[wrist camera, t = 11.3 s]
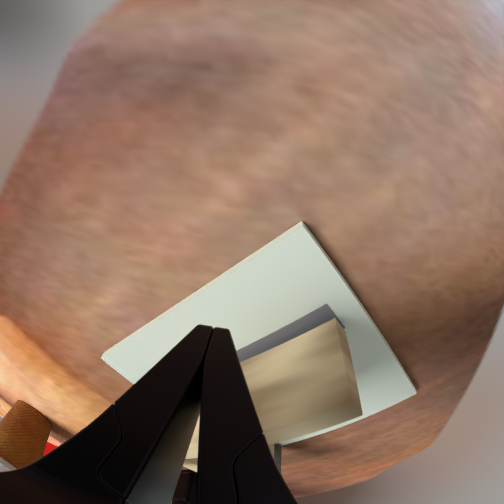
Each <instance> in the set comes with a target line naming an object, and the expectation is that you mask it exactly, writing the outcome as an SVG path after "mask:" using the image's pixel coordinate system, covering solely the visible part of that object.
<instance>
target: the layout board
mask: <svg viewBox="0 0 504 504" xmlns="http://www.w3.org/2000/svg"><path fill="white" fill-rule="evenodd" d="M334 318H336V320H337V321H338V322H339V324H340V325H341V327H342V328H343V329H344V331H345V332H346V336H347V340H348V345H349V349H350V353H351V358H352V363H353V367H354V372H355V377H356V382H357V387H358V392H359V397H360V402H361V407H362V413H363V415H362V416H359V417H357V418H354V419H352V420H349V421H346V422H343V423H341V424H338V425H335V426H332V427H329V428H326V429H323V430H320V431H317V432H314V433H311V434H307V435H304V436H300V437H297V438H293V439H290V440H286V441H282V442H278V443H274V444H277V445H281V446H282V445H286V444H289V443H293V442H297V441H300V440H303V439H307V438H310V437H313V436H316V435H319V434H322V433H325V432H328V431H331V430H334V429H337V428H339V427H342V426H345V425H348V424H350V423H353V422H355V421H358V420H360V419H363V418H365V417H368V416H370V415H372V414H375V413H377V412H379V411H382V410H384V409H386V408H388V407H390V406H393V405H395V404H397V403H399V402H401V401H403V400H405V399H407V398H409V397H411V396H413V395H415V394H417V392H416V389H415V386H414V385H413V383H412V382H411V380H410V378H409V377H408V375H407V373H406V372H405V370H404V368H403V367H402V365H401V364H400V362H399V360H398V359H397V357H396V356H395V354H394V352H393V351H392V349H391V348H390V346H389V345H388V343H387V341H386V340H385V338H384V337H383V335H382V334H381V332H380V331H379V329H378V328H377V326H376V325H375V323H374V322H373V320H372V319H371V317H370V316H369V314H368V313H367V311H366V310H365V308H364V307H363V305H362V304H361V302H360V301H359V299H358V298H357V296H356V295H355V293H354V292H353V291H352V289H351V288H350V286H349V285H348V283H347V282H346V280H345V279H344V278H343V276H342V275H341V273H340V272H339V271H338V269H337V268H336V266H335V265H334V263H333V262H332V261H331V259H330V258H329V257H328V255H327V254H326V252H325V251H324V250H323V248H322V247H321V246H320V244H319V243H318V241H317V240H316V239H315V237H314V236H313V235H312V233H311V232H310V231H309V229H308V228H307V227H306V225H305V224H304V223H303V221H301V222H299V223H298V224H296V225H295V226H293V227H292V228H290V229H289V230H287V231H286V232H284V233H283V234H281V235H280V236H278V237H277V238H275V239H274V240H272V241H271V242H269V243H268V244H266V245H265V246H263V247H262V248H260V249H259V250H257V251H256V252H254V253H253V254H251V255H250V256H248V257H247V258H245V259H244V260H242V261H241V262H239V263H238V264H236V265H235V266H233V267H232V268H230V269H229V270H227V271H226V272H224V273H223V274H221V275H220V276H218V277H217V278H215V279H214V280H212V281H211V282H209V283H208V284H206V285H205V286H203V287H202V288H200V289H199V290H197V291H196V292H194V293H193V294H191V295H190V296H188V297H187V298H185V299H184V300H182V301H181V302H179V303H178V304H176V305H174V306H173V307H171V308H170V309H168V310H167V311H165V312H164V313H162V314H161V315H159V316H158V317H156V318H155V319H153V320H152V321H150V322H149V323H147V324H146V325H144V326H143V327H141V328H140V329H138V330H137V331H135V332H134V333H132V334H131V335H129V336H128V337H126V338H125V339H123V340H122V341H120V342H119V343H117V344H116V345H114V346H113V347H111V348H110V349H108V350H107V351H105V352H104V353H103V355H102V357H101V359H102V360H104V361H105V362H106V363H107V364H109V365H110V366H111V367H112V368H113V369H115V370H116V371H117V372H118V373H120V374H121V375H122V376H124V377H125V378H126V379H127V380H129V381H130V382H131V383H133V384H135V383H136V382H137V381H138V380H139V379H140V378H141V377H142V376H144V375H145V374H146V373H147V372H148V371H149V370H150V369H151V368H152V367H153V366H154V365H155V364H156V363H157V362H159V361H160V360H161V359H162V358H163V357H164V356H165V355H166V354H167V353H168V352H169V351H170V350H171V349H172V348H173V347H174V346H176V345H177V344H178V343H179V342H180V341H181V340H182V339H183V338H184V337H185V336H186V335H187V334H188V333H189V332H190V331H191V330H192V329H194V328H195V327H196V326H197V325H199V324H202V325H208V326H212V327H213V329H214V328H215V327H221V328H227V329H229V330H230V332H231V335H232V339H233V342H234V345H235V348H236V351H237V355H238V358H239V361H240V362H242V361H245V360H247V359H249V358H252V357H254V356H256V355H258V354H261V353H263V352H265V351H267V350H270V349H272V348H274V347H276V346H279V345H281V344H283V343H285V342H287V341H289V340H291V339H293V338H296V337H298V336H300V335H302V334H304V333H306V332H308V331H310V330H312V329H314V328H316V327H318V326H320V325H322V324H324V323H326V322H328V321H330V320H332V319H334Z"/></svg>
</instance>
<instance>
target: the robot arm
mask: <svg viewBox="0 0 504 504" xmlns="http://www.w3.org/2000/svg"><path fill="white" fill-rule="evenodd" d="M199 414H200V420H199V439H198V461H197V472H195V471H193V470H187V471H181V470H182V467H183V464H184V461H185V458H186V455H187V452H188V448H189V445H190V442H191V439H192V436H193V433H194V430H195V427H196V424H197V421H198V418H199ZM171 501H172V504H297V502H296V500H295V499H294V497H293V495H292V494H291V492H290V490H289V489H288V487H287V485H286V483H285V481H284V479H283V477H282V475H281V473H280V472H279V470H278V468H277V465H276V463H275V461H274V458H273V456H272V453H271V451H270V448H269V446H268V443H267V440H266V437H265V435H264V434H263V430H262V427H261V424H260V421H259V418H258V415H257V412H256V409H255V406H254V403H253V400H252V398H251V395H250V392H249V389H248V385H247V382H246V379H245V376H244V373H243V370H242V367H241V364H240V361H239V358H238V355H237V351H236V348H235V345H234V342H233V339H232V335H231V332H230V330H229V329H227V328H221V327H215V328H214V329H213V327H212V326H208V325H202V324H199V325H197V326H196V327H195V328H194V329H192V330H191V331H190V332H189V333H188V334H187V335H186V336H185V337H184V338H183V339H182V340H181V341H180V342H179V343H178V344H177V345H176V346H174V347H173V348H172V349H171V350H170V351H169V352H168V353H167V354H166V355H165V356H164V357H163V358H162V359H161V360H160V361H159V362H157V363H156V364H155V365H154V366H153V367H152V368H151V369H150V370H149V371H148V372H147V373H146V374H145V375H144V376H142V377H141V378H140V379H139V380H138V381H137V382H136V383H135V384H134V385H133V386H132V387H131V388H130V389H128V390H127V391H126V392H125V393H124V394H123V395H122V396H121V397H120V398H119V399H118V400H116V401H115V405H114V404H112V405H111V406H110V407H109V408H108V409H107V410H105V411H104V412H103V413H102V414H101V415H100V416H99V417H97V418H96V419H95V420H94V421H93V422H92V423H90V424H89V425H88V426H87V427H85V428H84V429H83V430H81V431H80V432H79V433H77V434H76V435H74V436H73V437H72V438H70V439H69V440H67V441H66V442H64V443H63V444H61V445H60V446H58V447H57V448H55V449H54V450H52V451H51V452H49V453H48V454H46V455H45V456H43V457H42V458H40V459H39V460H37V461H35V462H34V463H32V464H30V465H28V466H26V467H23V468H20V469H16V470H11V471H4V472H0V504H171Z"/></svg>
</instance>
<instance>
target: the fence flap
mask: <svg viewBox="0 0 504 504" xmlns="http://www.w3.org/2000/svg"><path fill="white" fill-rule="evenodd" d="M240 364H241V367H242V370H243V373H244V376H245V379H246V382H247V385H248V389H249V392H250V395H251V398H252V400H253V403H254V406H255V409H256V412H257V415H258V418H259V421H260V424H261V427H262V430H263V434H264V435H265V437H266V440H267V443H268V445H270V444H274V443H278V442H282V441H286V440H290V439H293V438H297V437H300V436H304V435H307V434H311V433H314V432H317V431H320V430H323V429H326V428H329V427H332V426H335V425H338V424H341V423H343V422H346V421H349V420H352V419H354V418H357V417H359V416H362V415H363V413H362V407H361V402H360V397H359V392H358V387H357V382H356V377H355V372H354V367H353V363H352V358H351V353H350V349H349V345H348V340H347V336H346V332H345V331H344V329H343V328H342V327H341V325H340V324H339V322H338V321H337V320H336V318H334V319H332V320H330V321H328V322H326V323H324V324H322V325H320V326H318V327H316V328H314V329H312V330H310V331H308V332H306V333H304V334H302V335H300V336H298V337H296V338H293V339H291V340H289V341H287V342H285V343H283V344H281V345H279V346H276V347H274V348H272V349H270V350H267V351H265V352H263V353H261V354H258V355H256V356H254V357H252V358H249V359H247V360H245V361H242V362H240ZM199 420H200V414H199V418H198V421H197V424H196V427H195V430H194V433H193V436H192V439H191V442H190V445H189V448H188V452H187V455H186V458H185V459H191V458H198V439H199Z"/></svg>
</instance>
